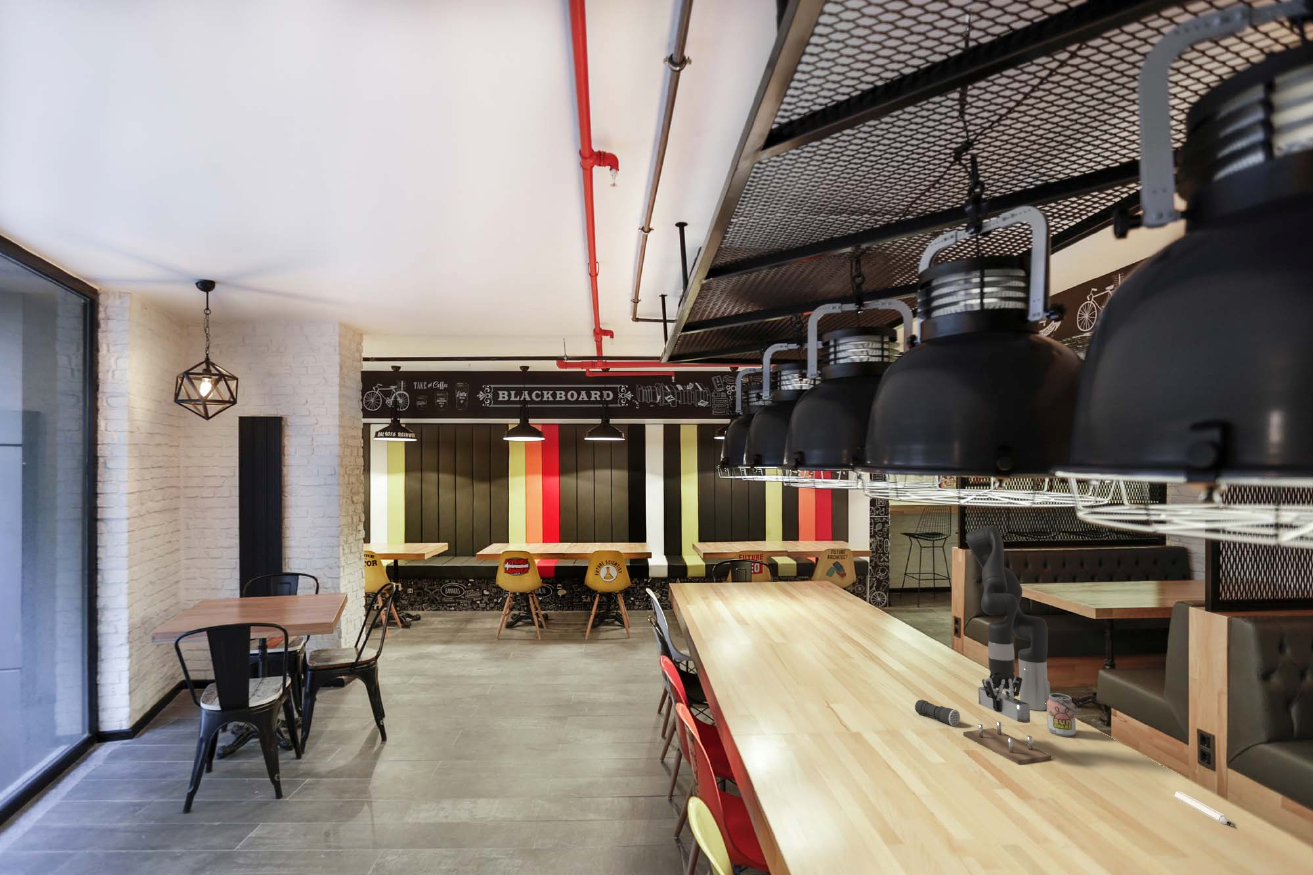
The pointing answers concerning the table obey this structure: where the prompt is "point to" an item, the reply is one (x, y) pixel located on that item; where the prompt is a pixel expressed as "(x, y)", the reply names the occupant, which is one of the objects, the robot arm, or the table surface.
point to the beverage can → (1061, 715)
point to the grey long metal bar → (1007, 706)
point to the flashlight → (938, 712)
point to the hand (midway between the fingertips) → (1003, 710)
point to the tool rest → (1007, 745)
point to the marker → (1202, 808)
